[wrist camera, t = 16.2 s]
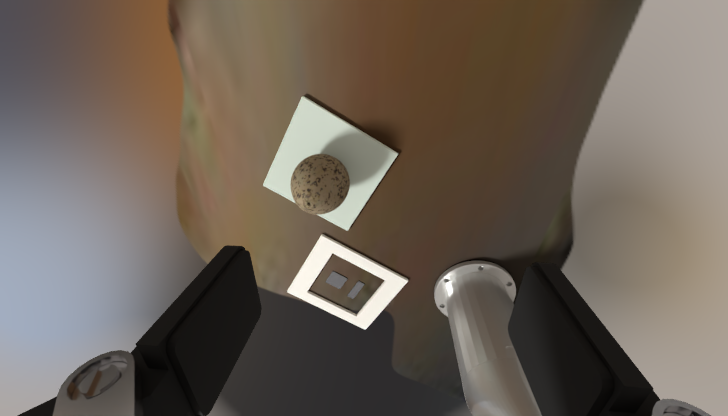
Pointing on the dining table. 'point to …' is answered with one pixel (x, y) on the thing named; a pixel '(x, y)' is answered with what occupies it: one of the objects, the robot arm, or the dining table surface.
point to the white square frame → (318, 261)
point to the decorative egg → (320, 184)
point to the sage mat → (336, 138)
